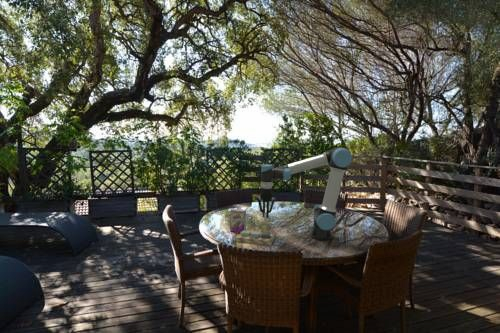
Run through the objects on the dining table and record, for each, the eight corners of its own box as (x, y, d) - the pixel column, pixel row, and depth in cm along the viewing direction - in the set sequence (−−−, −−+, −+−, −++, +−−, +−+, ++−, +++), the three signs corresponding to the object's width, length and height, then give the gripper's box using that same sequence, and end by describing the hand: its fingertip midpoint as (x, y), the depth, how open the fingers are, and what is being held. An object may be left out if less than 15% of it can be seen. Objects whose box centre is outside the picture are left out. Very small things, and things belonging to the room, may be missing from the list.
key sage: (250, 234, 217) (250, 231, 217) (248, 237, 212) (248, 233, 211) (243, 234, 218) (243, 230, 218) (241, 236, 213) (241, 232, 213)
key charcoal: (270, 236, 213) (270, 232, 213) (268, 239, 208) (268, 235, 208) (262, 236, 215) (262, 232, 214) (260, 238, 210) (261, 234, 209)
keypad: (274, 238, 217) (275, 234, 217) (270, 245, 204) (270, 240, 203) (241, 235, 223) (241, 230, 223) (235, 241, 210) (235, 237, 210)
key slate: (260, 235, 215) (260, 231, 215) (258, 238, 210) (258, 234, 210) (252, 235, 217) (253, 231, 216) (250, 237, 211) (250, 233, 211)
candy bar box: (229, 231, 231) (230, 210, 229) (232, 229, 236) (232, 208, 234) (244, 233, 227) (244, 211, 225) (246, 231, 232) (246, 210, 230)
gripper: (255, 188, 206) (254, 222, 208) (275, 189, 202) (273, 224, 205) (258, 186, 213) (257, 219, 216) (277, 187, 210) (276, 221, 212)
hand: (265, 222), depth 210 cm, fingers closed
